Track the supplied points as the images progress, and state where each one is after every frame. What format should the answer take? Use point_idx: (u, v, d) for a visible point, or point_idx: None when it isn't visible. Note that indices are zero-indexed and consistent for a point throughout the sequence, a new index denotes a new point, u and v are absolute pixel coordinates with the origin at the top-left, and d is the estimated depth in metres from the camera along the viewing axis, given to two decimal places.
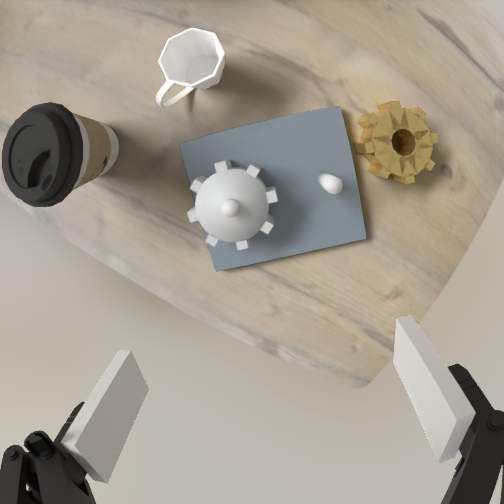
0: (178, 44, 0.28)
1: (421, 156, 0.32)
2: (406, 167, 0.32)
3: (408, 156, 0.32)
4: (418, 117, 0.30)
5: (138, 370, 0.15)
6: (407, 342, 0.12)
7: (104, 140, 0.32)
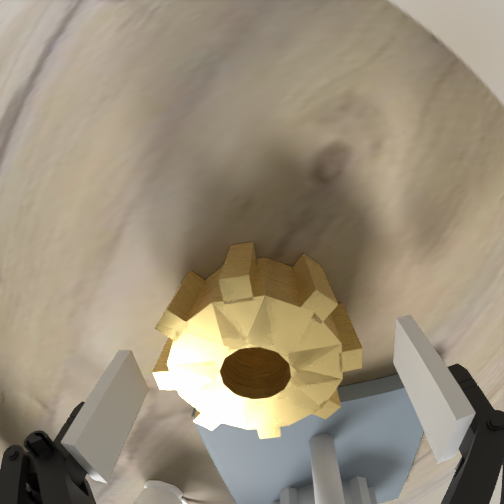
0: None
1: (293, 332, 0.13)
2: (320, 370, 0.13)
3: (292, 366, 0.13)
4: (182, 333, 0.13)
5: (138, 370, 0.15)
6: (406, 342, 0.12)
7: None
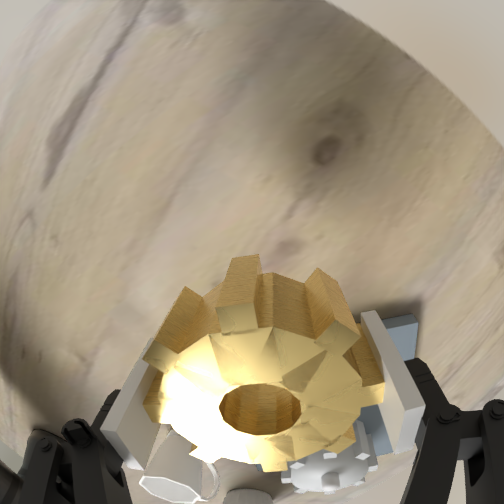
0: (156, 482, 0.27)
1: (306, 368, 0.10)
2: (336, 406, 0.11)
3: (303, 403, 0.11)
4: (174, 366, 0.11)
5: None
6: (368, 336, 0.13)
7: None
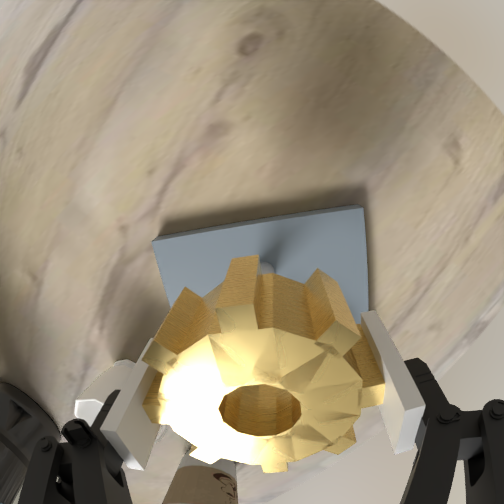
0: None
1: (306, 369, 0.10)
2: (336, 407, 0.11)
3: (304, 404, 0.11)
4: (173, 367, 0.11)
5: None
6: (368, 336, 0.13)
7: (196, 476, 0.30)
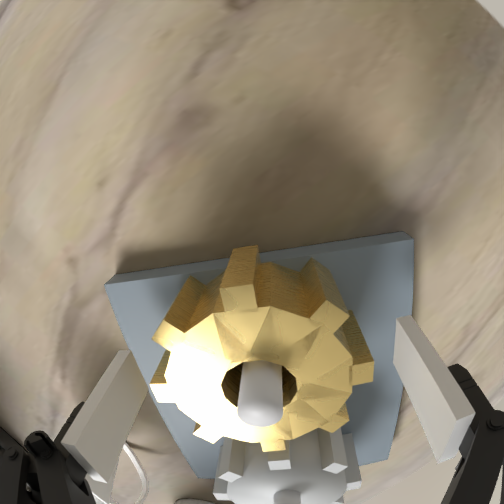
0: None
1: (301, 345, 0.12)
2: (329, 384, 0.12)
3: (299, 380, 0.12)
4: (181, 345, 0.12)
5: (138, 370, 0.15)
6: (406, 342, 0.12)
7: None
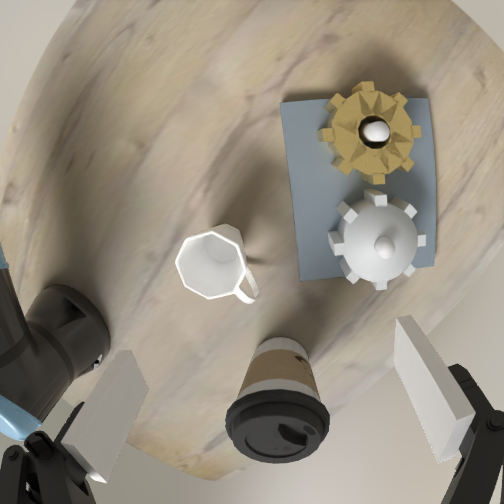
0: (191, 274, 0.32)
1: (391, 110, 0.25)
2: (403, 134, 0.25)
3: (391, 129, 0.25)
4: (343, 105, 0.25)
5: (138, 370, 0.15)
6: (406, 342, 0.12)
7: (279, 357, 0.35)
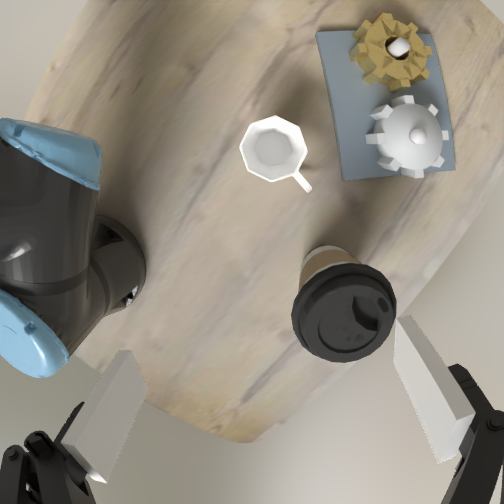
0: (251, 163, 0.33)
1: (407, 34, 0.27)
2: (419, 51, 0.27)
3: None
4: (371, 27, 0.27)
5: (138, 370, 0.15)
6: (406, 342, 0.12)
7: (333, 252, 0.36)
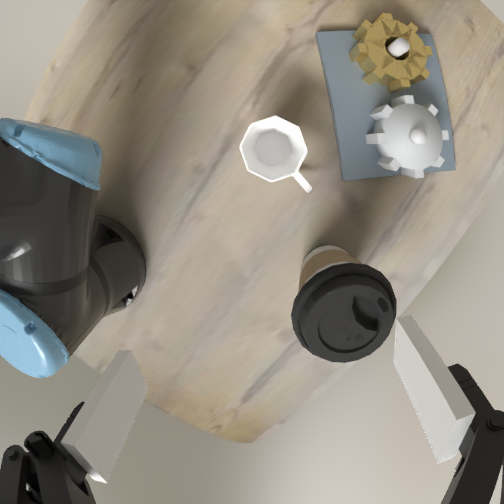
0: (251, 163, 0.33)
1: (407, 34, 0.27)
2: (419, 51, 0.27)
3: None
4: (371, 27, 0.27)
5: (138, 370, 0.15)
6: (406, 342, 0.12)
7: (333, 252, 0.36)
